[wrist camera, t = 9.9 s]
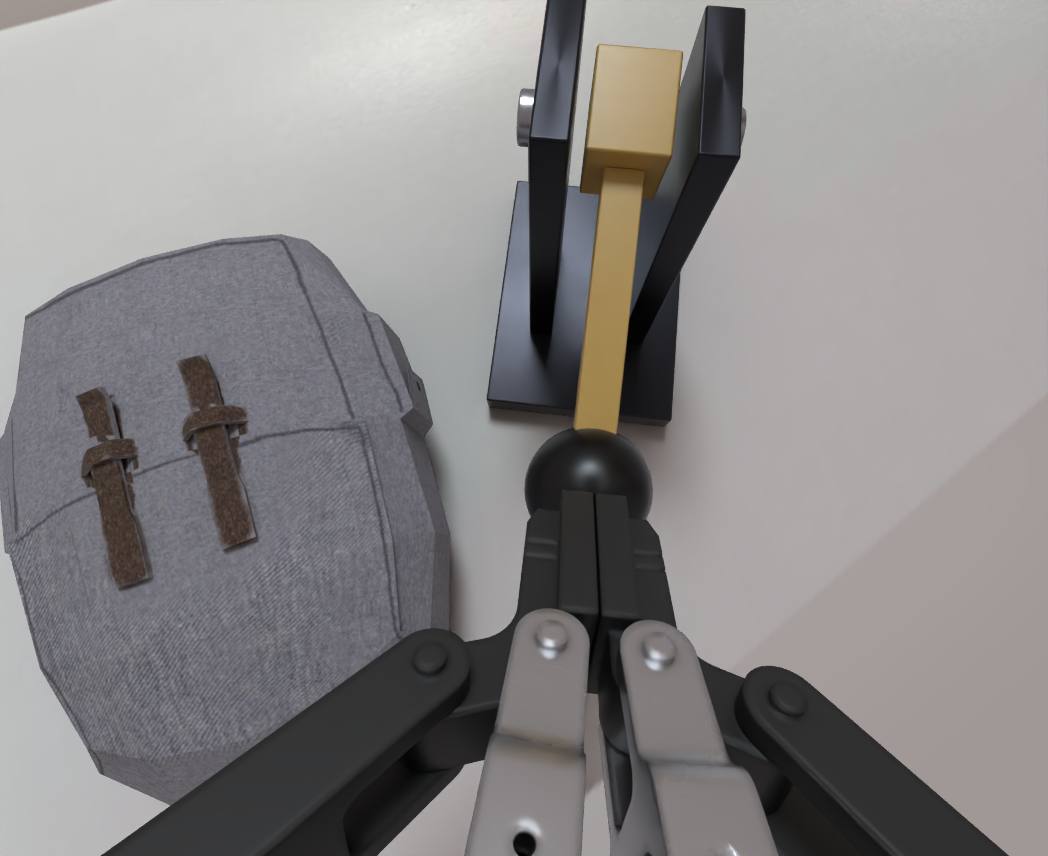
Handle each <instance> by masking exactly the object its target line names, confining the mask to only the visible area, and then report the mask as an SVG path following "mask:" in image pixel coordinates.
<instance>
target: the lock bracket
mask: <svg viewBox="0 0 1048 856" xmlns="http://www.w3.org/2000/svg"><path fill="white" fill-rule="evenodd" d="M585 10H586V0H547V4H546V11H545V19H544V26H543V33H542V40H541V48H540V55H539V62H538V69H537V77H536V84H535V89H525V88H523V89H521V92H520V96H519V103H518V113H517V144H518V146H521V147H528V182H524V181H518V182H517V186H516V193H515V200H514V207H513V215H512V222H511V229H510V236H509V243H508V250H507V257H506V265H505V272H504V279H503V286H502V293H501V300H500V307H499V314H498V322H497V329H496V336H495V343H494V350H493V357H492V364H491V372H490V379H489V386H488V393H487V402H488V405H489V407H494V408H503V409H511V410H520V411H529V412H538V413H547V414H556V415H565V416H574V415H575V406H576V397H577V388H578V379H579V370H580V361H581V352H582V343H583V334H584V325H585V317H586V308H587V299H588V290H589V281H590V272H591V263H592V254H593V245H594V236H595V227H596V218H597V209H598V200H599V195H595V194H585V193H580V187H577V186H568V182H569V172H570V162H571V152H572V142H573V132H574V121H575V111H576V101H577V91H578V81H579V71H580V61H581V51H582V41H583V31H584V21H585ZM744 39H745V9H744V8H733V7H720V6H707V7H706V8H705V11H704V15H703V18H702V21H701V24H700V27H699V30H698V33H697V36H696V40H695V43H694V46H693V49H692V52H691V55H690V58H689V62H688V65H687V68H686V71H685V74H684V77H683V80H682V83H681V87H680V90H679V98H678V107H677V116H676V126H675V135H674V145H673V154H672V158H671V160H670V162H669V164H668V167H667V169H666V171H665V174H664V176H663V178H662V180H661V183H660V185H659V187H658V190H657V192H656V194H655V197H654V198H653V199H652V200H648V199H642V205H641V214H640V223H639V232H638V242H637V251H636V260H635V269H634V279H633V288H632V297H631V306H630V316H629V325H628V334H627V343H626V352H625V362H624V371H623V380H622V389H621V399H620V408H619V417H618V421H619V422H628V423H636V424H645V425H654V426H663V427H664V426H666V425H667V424H668V423H669V422H670V421H671V417H672V401H673V384H674V368H675V351H676V335H677V318H678V301H679V285H680V271H681V269H682V267H683V265H684V263H685V261H686V259H687V258H688V256H689V254H690V252H691V250H692V248H693V246H694V244H695V242H696V241H697V239H698V237H699V235H700V233H701V231H702V229H703V227H704V225H705V224H706V222H707V220H708V218H709V216H710V214H711V212H712V210H713V208H714V206H715V205H716V203H717V201H718V199H719V197H720V195H721V193H722V191H723V189H724V188H725V186H726V184H727V182H728V180H729V178H730V176H731V174H732V172H733V171H734V169H735V167H736V165H737V163H738V161H739V159H740V154H741V145H742V141H743V137H744V133H745V127H746V110H745V109H744V108H742V97H743V68H744Z"/></svg>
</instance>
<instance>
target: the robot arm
mask: <svg viewBox="0 0 1048 856" xmlns="http://www.w3.org/2000/svg"><path fill="white" fill-rule="evenodd" d="M587 693H594V694H598V699H599V719H600V724H599V743H600V752H601V761H602V770H603V779H604V788H605V797H606V805H607V813H608V823H609V832H610V856H1008V855H1007V854H1006V853H1005V852H1004V851H1003V850H1002V849H1000V848H999V847H998V846H997V845H996V844H995V843H993V842H992V841H991V840H990V839H989V838H988V837H987V836H985V835H984V834H983V833H982V832H981V831H980V830H978V829H977V828H976V827H975V826H974V825H973V824H971V823H970V822H969V821H968V820H967V819H966V818H965V817H963V816H962V815H961V814H960V813H959V812H958V811H956V810H955V809H954V808H953V807H952V806H951V805H950V804H948V803H947V802H946V801H945V800H944V799H943V798H941V797H940V796H939V795H938V794H937V793H936V792H935V791H933V790H932V789H931V788H930V787H929V786H928V785H926V784H925V783H924V782H923V781H922V780H921V779H919V778H918V777H917V776H916V775H915V774H913V773H912V772H911V771H910V770H909V769H908V768H907V767H906V766H904V765H903V764H902V763H901V762H900V761H899V760H897V759H896V758H895V757H894V756H893V755H892V754H890V753H889V752H888V751H887V750H886V749H885V748H884V747H882V746H881V745H880V744H879V743H878V742H877V741H876V740H874V739H873V738H872V737H871V736H870V735H868V734H867V733H866V732H865V731H864V730H863V729H861V728H860V727H859V726H858V725H857V724H856V723H855V722H853V721H852V720H851V719H850V718H849V717H848V716H847V715H845V714H844V713H843V712H842V711H841V710H840V709H838V708H837V707H836V706H835V705H834V704H833V703H831V702H830V701H829V700H828V699H827V698H826V697H825V696H823V695H822V694H821V693H820V692H819V691H818V690H816V689H815V688H814V687H813V686H812V685H811V684H809V683H808V682H807V681H806V680H804V679H803V678H802V677H800V676H798V675H797V674H795V673H793V672H791V671H789V670H786V669H783V668H780V667H775V666H761V667H758V668H755V669H753V670H752V671H750V672H749V673H748V674H747V676H746V678H742V677H740V676H737V675H735V674H732V673H730V672H727V671H725V670H722V669H720V668H717V667H715V666H713V665H711V664H709V663H707V662H705V661H704V660H702V659H701V658H699V657H698V656H697V654H696V651H695V649H694V647H693V645H692V643H691V642H690V641H689V639H688V638H687V637H686V636H685V635H684V634H683V633H682V632H680V631H679V630H678V629H677V626H676V622H675V617H674V612H673V606H672V601H671V596H670V591H669V586H668V581H667V576H666V572H665V566H664V560H663V557H662V550H661V545H660V540H659V536H658V535H657V533H656V532H655V531H654V529H653V528H652V527H651V525H650V524H649V522H648V521H647V520H641V519H632V518H629V513H628V505H627V499H626V496H621V495H612V494H603V493H594V495H593V493H592V492H585V491H576V490H567V489H562V491H561V497H560V505H559V510H551V509H542V508H538V509H537V510H536V511H535V513H534V514H533V515H532V517H531V518H530V519H529V520H528V522H527V530H526V538H525V547H524V556H523V564H522V573H521V582H520V590H519V599H518V607H517V612H516V615H515V617H514V619H513V620H512V622H511V623H510V624H509V625H508V626H507V627H506V628H505V629H504V630H503V631H501V632H500V633H498V634H496V635H494V636H491V637H488V638H484V639H480V640H474V641H469V642H464V641H463V640H462V639H461V638H460V637H459V636H457V635H456V634H454V633H452V632H451V631H448V630H445V629H439V628H428V629H422V630H419V631H416V632H414V633H411V634H410V635H408V636H406V637H405V638H404V639H402V640H401V641H399V642H398V643H397V644H395V645H394V646H392V647H391V648H390V649H388V650H387V651H385V652H384V653H383V654H381V655H380V656H378V657H377V658H376V659H374V660H373V661H372V662H370V663H369V664H367V665H366V666H365V667H363V668H362V669H360V670H359V671H358V672H356V673H355V674H353V675H352V676H351V677H349V678H348V679H346V680H345V681H344V682H342V683H341V684H339V685H338V686H337V687H335V688H334V689H333V690H331V691H330V692H328V693H327V694H326V695H324V696H323V697H321V698H320V699H319V700H317V701H316V702H314V703H313V704H312V705H310V706H309V707H307V708H306V709H305V710H303V711H302V712H300V713H299V714H298V715H296V716H295V717H294V718H292V719H291V720H289V721H288V722H287V723H285V724H284V725H282V726H281V727H280V728H278V729H277V730H275V731H274V732H273V733H271V734H270V735H268V736H267V737H266V738H264V739H263V740H261V741H260V742H259V743H257V744H256V745H255V746H253V747H252V748H250V749H249V750H248V751H246V752H245V753H243V754H242V755H241V756H239V757H238V758H236V759H235V760H234V761H232V762H231V763H229V764H228V765H227V766H225V767H224V768H222V769H221V770H220V771H218V772H217V773H216V774H214V775H213V776H211V777H210V778H209V779H207V780H206V781H204V782H203V783H202V784H200V785H199V786H197V787H196V788H195V789H193V790H192V791H190V792H189V793H188V794H186V795H185V796H184V797H182V798H181V799H179V800H178V801H177V802H175V803H174V804H172V805H171V806H170V807H168V808H167V809H165V810H164V811H163V812H161V813H160V814H158V815H157V816H156V817H154V818H153V819H151V820H150V821H149V822H147V823H146V824H145V825H143V826H142V827H140V828H139V829H138V830H136V831H135V832H133V833H132V834H131V835H129V836H128V837H126V838H125V839H124V840H122V841H121V842H119V843H118V844H117V845H115V846H114V847H112V848H111V849H110V850H108V851H107V852H106V853H104V854H103V855H101V856H377V855H378V854H379V853H380V852H381V851H382V850H383V849H384V848H385V847H386V846H387V845H388V844H389V843H390V842H391V841H392V840H393V839H394V838H395V837H396V836H397V835H398V834H399V833H400V832H401V831H402V830H403V829H404V828H405V827H406V826H407V825H408V824H409V823H410V822H411V821H412V820H413V819H414V818H415V817H416V816H417V815H418V814H419V813H420V812H421V811H422V810H423V809H424V808H425V807H426V806H427V805H428V804H429V803H430V802H431V801H432V800H433V799H434V798H435V797H436V796H437V795H438V794H439V793H440V792H441V791H442V790H443V789H444V788H445V787H446V786H447V785H448V784H449V783H450V782H451V781H452V780H453V779H454V778H455V777H456V776H457V775H458V774H459V772H460V771H461V769H462V768H463V766H464V764H469V763H473V762H477V761H481V760H484V765H483V770H482V774H481V779H480V784H479V788H478V793H477V798H476V802H475V807H474V812H473V816H472V821H471V826H470V830H469V835H468V840H467V845H466V849H465V854H464V856H581V850H582V832H583V830H582V829H583V814H584V796H585V778H586V755H585V753H584V729H585V713H586V696H587Z"/></svg>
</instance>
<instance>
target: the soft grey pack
mask: <svg viewBox="0 0 1048 856" xmlns="http://www.w3.org/2000/svg"><path fill="white" fill-rule="evenodd" d="M432 425H433V422H432V418H431V414H430V409H429V405H428V401H427V397H426V392H425V388H424V384H423V381H422V379H421V378H420V377H419V376H418V375H416V374H415V373H414V372H413V371H412V369H411V366H410V364H409V361H408V359H407V356H406V354H405V351H404V349H403V346H402V344H401V341H400V338H399V337H398V336H397V335H396V334H395V333H394V332H393V330H392V329H391V328H390V327H389V326H388V325H387V324H386V323H385V321H384V320H383V319H382V318H381V317H380V316H379V315H378V314H375V313H372V312H369V311H367V309H366V308H365V307H364V305H363V304H362V302H361V301H360V300H359V298H358V297H357V296H356V294H355V293H354V291H353V290H352V289H351V287H350V286H349V285H348V283H347V282H346V280H345V279H344V278H343V276H342V275H341V273H340V272H339V271H338V269H337V268H336V267H335V265H334V264H333V262H332V261H331V260H330V259H329V258H328V257H327V256H326V255H325V254H323V253H322V252H321V251H320V250H319V249H317V248H316V247H315V246H314V245H313V244H311V243H310V242H309V241H307V240H303V239H298V238H294V237H290V236H285V235H281V234H280V235H267V236H255V237H242V238H229V239H221V240H217V241H213V242H209V243H205V244H200V245H196V246H192V247H188V248H184V249H180V250H175V251H171V252H167V253H163V254H159V255H155V256H150V257H146V258H142V259H140V260H137V261H135V262H132V263H130V264H127V265H125V266H122V267H120V268H118V269H115V270H113V271H110V272H108V273H105V274H103V275H100V276H98V277H95V278H93V279H90V280H88V281H85V282H83V283H81V284H78V285H76V286H73V287H71V288H68V289H67V290H65V291H63V292H62V293H60V294H59V295H57V296H56V297H54V298H53V299H51V300H50V301H48V302H47V303H45V304H43V305H42V306H40V307H39V308H37V309H36V310H34V311H33V312H31V313H30V314H28V315H27V316H25V323H24V331H23V339H22V347H21V355H20V363H19V371H18V379H17V387H16V394H15V397H14V401H13V404H12V408H11V411H10V414H9V418H8V421H7V424H6V428H5V431H4V434H3V436H2V438H1V439H0V501H1V513H2V525H3V537H4V548H5V553H7V554H10V557H11V561H12V565H13V569H14V572H15V576H16V580H17V584H18V587H19V591H20V595H21V599H22V602H23V606H24V610H25V614H26V617H27V621H28V625H29V629H30V632H31V636H32V640H33V644H34V647H35V651H36V655H37V659H38V662H39V666H40V669H41V671H42V672H43V674H44V676H45V678H46V679H47V681H48V683H49V684H50V686H51V688H52V690H53V691H54V693H55V695H56V696H57V698H58V700H59V702H60V703H61V705H62V707H63V708H64V710H65V712H66V714H67V715H68V717H69V719H70V720H71V722H72V724H73V726H74V727H75V729H76V731H77V732H78V734H79V736H80V738H81V739H82V741H83V743H84V744H85V746H86V748H87V750H88V752H89V754H90V756H91V758H92V760H93V762H94V764H95V765H96V767H97V769H98V771H99V773H100V774H102V775H104V776H106V777H109V778H111V779H113V780H115V781H118V782H120V783H122V784H124V785H127V786H129V787H131V788H133V789H136V790H138V791H140V792H142V793H144V794H147V795H149V796H151V797H153V798H156V799H158V800H160V801H162V802H165V803H167V804H169V805H172V804H174V803H175V802H177V801H178V800H179V799H181V798H182V797H184V796H185V795H186V794H188V793H189V792H190V791H192V790H193V789H195V788H196V787H197V786H199V785H200V784H202V783H203V782H204V781H206V780H207V779H209V778H210V777H211V776H213V775H214V774H216V773H217V772H218V771H220V770H221V769H222V768H224V767H225V766H227V765H228V764H229V763H231V762H232V761H234V760H235V759H236V758H238V757H239V756H241V755H242V754H243V753H245V752H246V751H248V750H249V749H250V748H252V747H253V746H255V745H256V744H257V743H259V742H260V741H261V740H263V739H264V738H266V737H267V736H268V735H270V734H271V733H273V732H274V731H275V730H277V729H278V728H280V727H281V726H282V725H284V724H285V723H287V722H288V721H289V720H291V719H292V718H294V717H295V716H296V715H298V714H299V713H300V712H302V711H303V710H305V709H306V708H307V707H309V706H310V705H312V704H313V703H314V702H316V701H317V700H319V699H320V698H321V697H323V696H324V695H326V694H327V693H328V692H330V691H331V690H333V689H334V688H335V687H337V686H338V685H339V684H341V683H342V682H344V681H345V680H346V679H348V678H349V677H351V676H352V675H353V674H355V673H356V672H358V671H359V670H360V669H362V668H363V667H365V666H366V665H367V664H369V663H370V662H372V661H373V660H374V659H376V658H377V657H378V656H380V655H381V654H383V653H384V652H385V651H387V650H388V649H390V648H391V647H392V646H394V645H395V644H397V643H398V642H399V641H401V640H402V639H404V638H405V637H406V636H408V635H410V634H411V633H414V632H416V631H419V630H422V629H428V628H439V629H445V630H448V631H451V630H450V627H449V590H450V532H449V528H448V525H447V521H446V517H445V514H444V510H443V506H442V503H441V499H440V495H439V492H438V488H437V484H436V480H435V477H434V473H433V469H432V466H431V462H430V458H429V455H428V451H427V447H426V444H425V440H424V436H425V435H426V433H427V432H428V430H429V429H430V428H431V426H432Z"/></svg>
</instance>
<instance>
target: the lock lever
mask: <svg viewBox="0 0 1048 856" xmlns="http://www.w3.org/2000/svg"><path fill="white" fill-rule="evenodd" d="M682 60H683V52H682V51H677V50H665V49H653V48H641V47H629V46H617V45H605V44H599V45H598V46H597V51H596V58H595V66H594V73H593V81H592V88H591V96H590V103H589V112H588V121H587V130H586V139H585V148H584V156H583V165H582V174H581V183H580V193H585V194H595V195H599V200H598V209H597V218H596V227H595V236H594V245H593V254H592V263H591V272H590V281H589V290H588V299H587V308H586V317H585V325H584V334H583V343H582V352H581V361H580V370H579V379H578V388H577V397H576V406H575V415H574V424H573V428H570V429H567V430H565V431H562V432H560V433H558V434H556V435H554V436H553V437H552V438H550V439H549V440H547V441H546V442H545V443H544V444H543V445H542V446H541V447H540V448H539V450H538V451H537V452H536V454H535V455H534V457H533V458H532V460H531V463H530V465H529V467H528V470H527V473H526V479H525V500H526V504H527V508H528V511H529V514H530V516H531V517H532V515H533V514H534V513H535V511H536V510H537V509H538V508H542V509H551V510H559V505H560V497H561V491H562V489H567V490H576V491H585V492H592V493H593V495H594V493H603V494H612V495H621V496H626V499H627V505H628V513H629V518H632V519H641V520H646V518H647V516H648V514H649V511H650V507H651V503H652V494H653V487H652V479H651V475H650V471H649V468H648V466H647V463H646V461H645V460H644V458H643V456H642V455H641V453H640V452H639V450H638V449H637V448H636V447H635V446H634V445H633V444H632V443H631V442H630V441H628V440H627V439H626V438H624V437H623V436H621V435H620V434H618V433H617V426H618V417H619V408H620V399H621V389H622V380H623V371H624V362H625V352H626V343H627V334H628V325H629V316H630V306H631V297H632V288H633V279H634V269H635V260H636V251H637V242H638V232H639V223H640V214H641V205H642V199H648V200H652V199H653V198H654V197H655V194H656V192H657V190H658V187H659V185H660V183H661V180H662V178H663V176H664V174H665V171H666V169H667V167H668V164H669V162H670V160H671V158H672V154H673V145H674V135H675V126H676V116H677V107H678V98H679V88H680V79H681V69H682Z"/></svg>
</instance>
